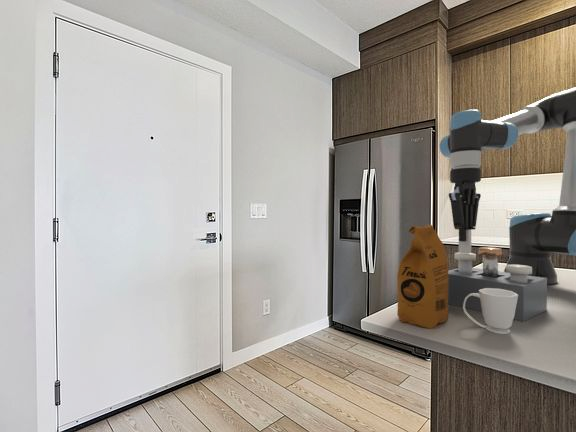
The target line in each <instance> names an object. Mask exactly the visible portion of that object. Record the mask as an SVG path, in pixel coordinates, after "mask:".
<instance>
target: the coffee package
mask: <svg viewBox="0 0 576 432" xmlns="http://www.w3.org/2000/svg"><path fill="white" fill-rule="evenodd" d="M408 232H409V233H410V234H413V235H414V237H413V238H412V241H411V243H410V244H409V245H410V246H409V249H408V250H407V252H406V253H405V254H404V256H403V257H402V259H401V261H400V263H399V266H398V272H397V275H396V276H397V317H398V319H399V321H401V322H402V323H408V324H410V325H412V326H418V327H420V328H426V329H430V330H431V329H434V328H435V327H436V326H437V325H438V324H444V323H446V321H447V319H448V317H450V314H449V303H448V284H449V276H448V270H449V266H448V256H447V251H446V248H445V246H444V244H443V241H442V240H441V239H440V237H439V235H438V233H437V232H436V230H435V229H434V227H433V225H432V224H431V223H429V224H426V225H425V226H414V225H412V226H411V227H410V228H409V229H408Z"/></svg>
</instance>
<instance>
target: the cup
mask: <svg viewBox="0 0 576 432" xmlns="http://www.w3.org/2000/svg"><path fill="white" fill-rule="evenodd" d="M469 296H476V297H479V298H480V301H481V307H482V311H481V313H482V316H483V319H484V322H485V324H486V325H485V324H482V323H481V322H478V321H477V320H476V319H475V318H474V317H472V316H471V315H470V314H469V313H468V311H467V309H466V307H465V303H466V300H467V298H468V297H469ZM517 299H518V294H516V293H514V292H513V291H508V290H503V289H493V288H485V289H480V290H479V294H478V293H471V294H469V295H468V296H467V297H466V298H465V300H464V303H463V307H462V309H463V313H464V314H465V315H466V317H467V318H468V319H469V320H470V321H472V322H473V323H474V324H476V325H477V326H479V327H481V328H482V329H486V330H487V331H489V332H491V333H495V334H502V335H508V334H509V333H511V330H510V329H509V328H511V327H512V324H513V322H514V320H515V319H514V315H515V309H516V304H517Z"/></svg>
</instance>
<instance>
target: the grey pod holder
mask: <svg viewBox="0 0 576 432" xmlns="http://www.w3.org/2000/svg"><path fill="white" fill-rule="evenodd" d="M448 276H449V284H448V305H449V304H450V305H453V306H459V307H462V308H463V303H464V300H465V298H466V297H467V296H468V295H469V294H471V293H478V294H479V290H480V289H485V288H493V289H503V290H508V291H513V292H514V293H516V294H518V299H517V304H516V309H515V315H514V319H513V320H515V321H520V322H525V321H528V320H529V319H531V318H533V317H536V316H538V315H539V314H541V313H543V312H546V311H547V309H548V305H547V304H548V284H547V278H542V277H535V276H528V275H527V283H525V282H519V281H512V280H510V273H506V272H504V271H499V270H498V278H493V277H487V276H483V268H478V267H477V268H476V267H472V273H471V274H467V273H461V272H458V268H453V269H448ZM466 308H467V309H470V310H474V311H479V312H482V307H481V301H480V298H479V297H476V296H469V297H468V298H467V300H466V303H465V309H466Z"/></svg>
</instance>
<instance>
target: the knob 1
mask: <svg viewBox="0 0 576 432" xmlns="http://www.w3.org/2000/svg"><path fill="white" fill-rule="evenodd" d="M454 259H455V260H457V261H458V263H457V265H458V268H457V269H458V272H461V273H467V274H471V273H472V268H473V261H476V260H477V254H476V253H473V252H471V253H470V254H467V253H459V252H455V253H454Z"/></svg>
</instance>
